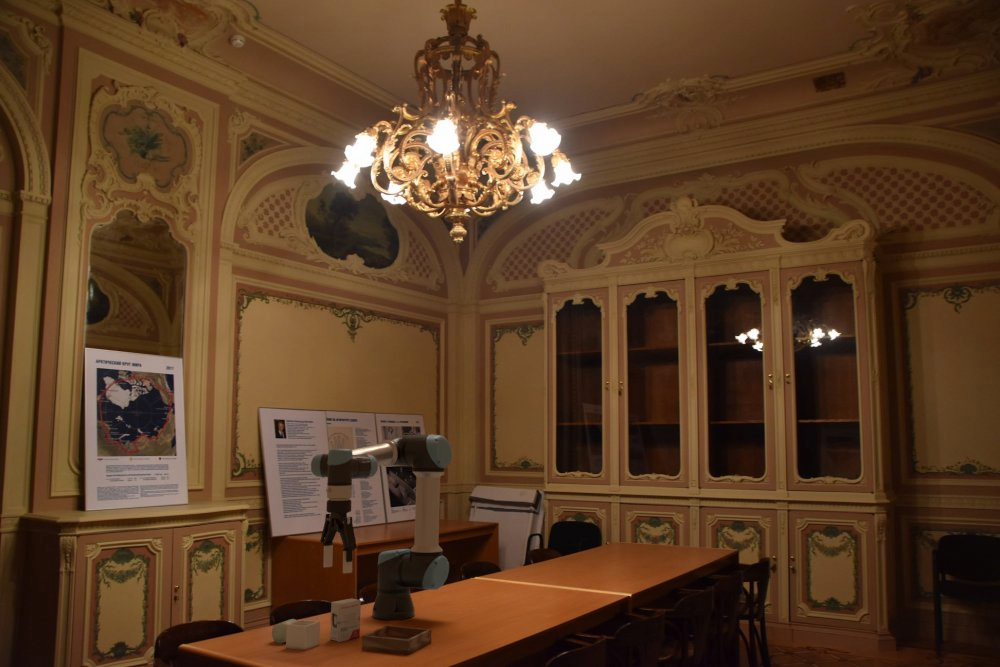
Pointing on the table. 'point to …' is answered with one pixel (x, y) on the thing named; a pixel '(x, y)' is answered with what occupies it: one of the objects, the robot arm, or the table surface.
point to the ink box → (345, 619)
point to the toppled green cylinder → (281, 631)
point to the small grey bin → (302, 634)
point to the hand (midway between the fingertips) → (337, 570)
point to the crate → (396, 639)
